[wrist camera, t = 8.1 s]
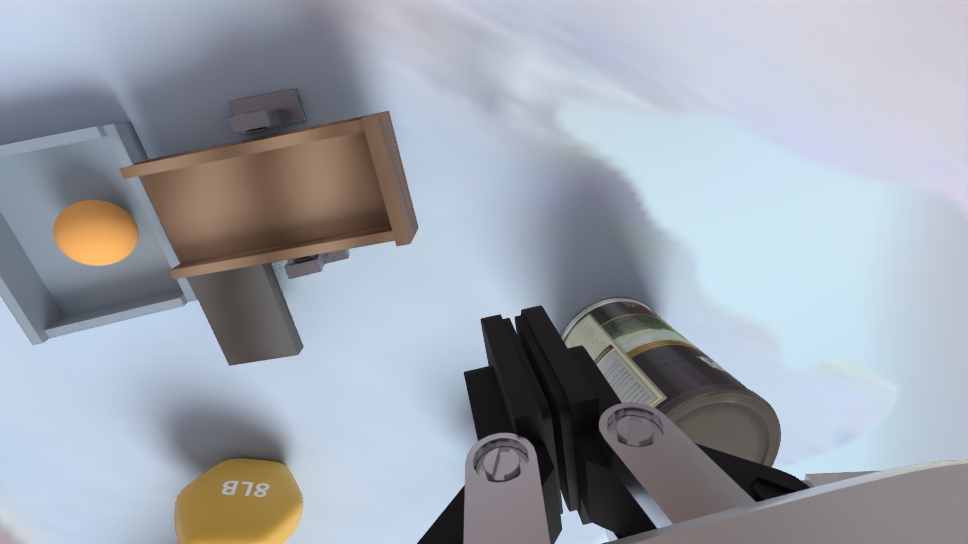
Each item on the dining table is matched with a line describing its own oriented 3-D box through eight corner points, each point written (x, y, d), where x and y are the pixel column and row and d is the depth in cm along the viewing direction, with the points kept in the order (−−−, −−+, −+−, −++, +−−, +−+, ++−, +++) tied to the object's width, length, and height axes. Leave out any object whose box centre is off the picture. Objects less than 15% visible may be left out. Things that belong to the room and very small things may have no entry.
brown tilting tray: (393, 109, 28) (376, 114, 24) (445, 314, 33) (438, 349, 29) (162, 156, 29) (106, 169, 25) (247, 346, 34) (213, 383, 30)
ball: (111, 196, 27) (126, 188, 30) (26, 216, 25) (52, 205, 29) (144, 260, 28) (155, 246, 32) (64, 282, 27) (85, 265, 30)
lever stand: (296, 88, 30) (277, 87, 25) (349, 254, 34) (342, 281, 29) (232, 101, 30) (200, 102, 25) (294, 267, 34) (278, 297, 29)
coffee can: (634, 273, 40) (753, 359, 27) (678, 357, 44) (800, 466, 31) (533, 340, 40) (602, 457, 27) (586, 416, 44) (668, 550, 31)
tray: (130, 121, 29) (101, 124, 26) (207, 288, 33) (189, 307, 30) (-37, 155, 28) (-87, 161, 25) (65, 322, 32) (32, 345, 29)
